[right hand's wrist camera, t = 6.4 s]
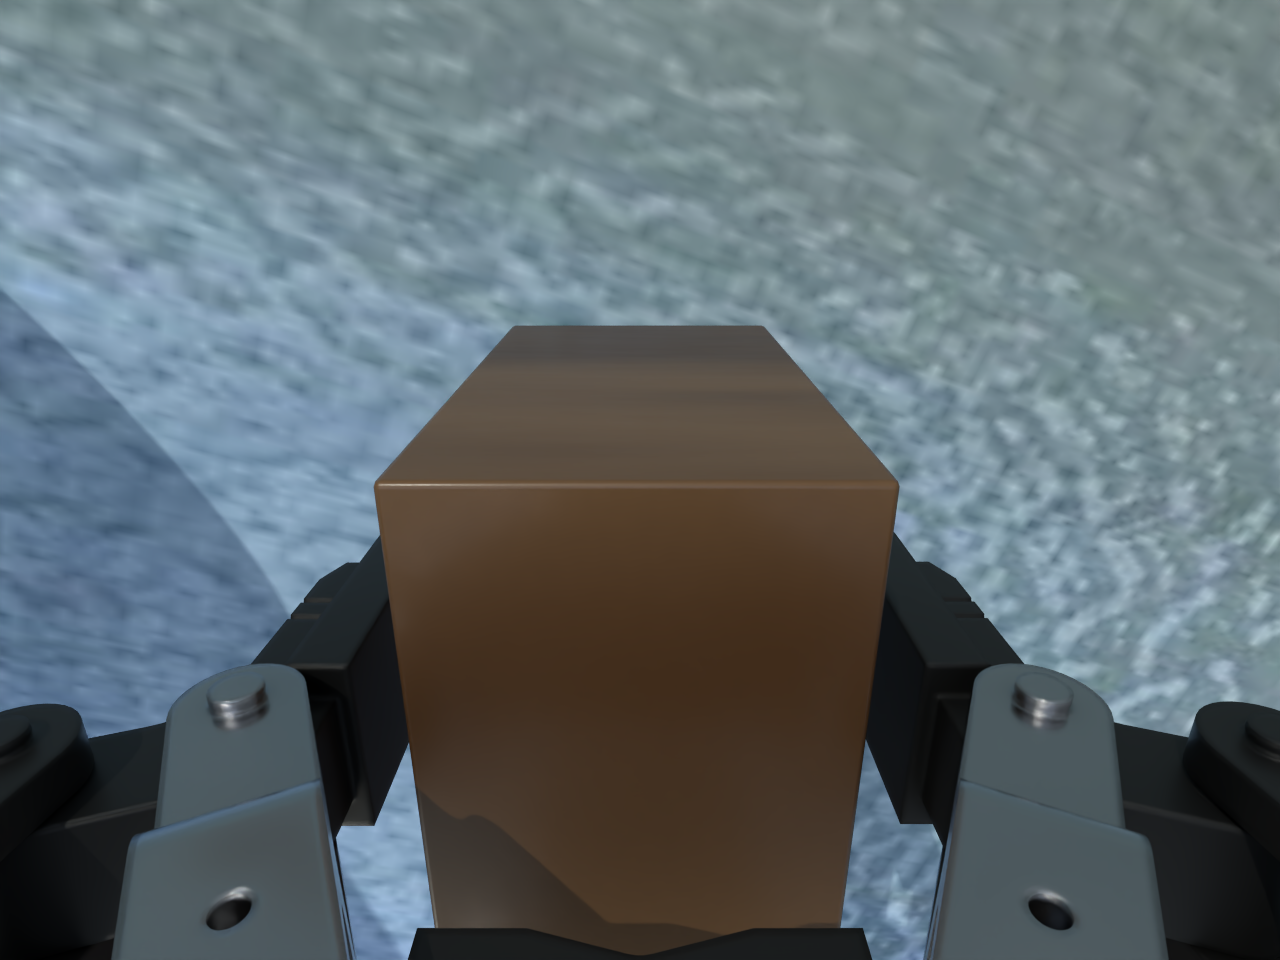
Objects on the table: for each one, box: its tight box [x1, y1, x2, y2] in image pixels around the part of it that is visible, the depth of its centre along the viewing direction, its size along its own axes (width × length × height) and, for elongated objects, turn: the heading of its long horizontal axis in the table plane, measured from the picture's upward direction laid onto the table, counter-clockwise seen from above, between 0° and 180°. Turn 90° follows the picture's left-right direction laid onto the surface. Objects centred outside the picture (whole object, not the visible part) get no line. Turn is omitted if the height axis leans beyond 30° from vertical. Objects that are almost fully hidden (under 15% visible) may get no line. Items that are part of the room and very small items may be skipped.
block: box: [374, 326, 899, 955], centre depth 14 cm, size 22×5×8 cm, turn 0°
